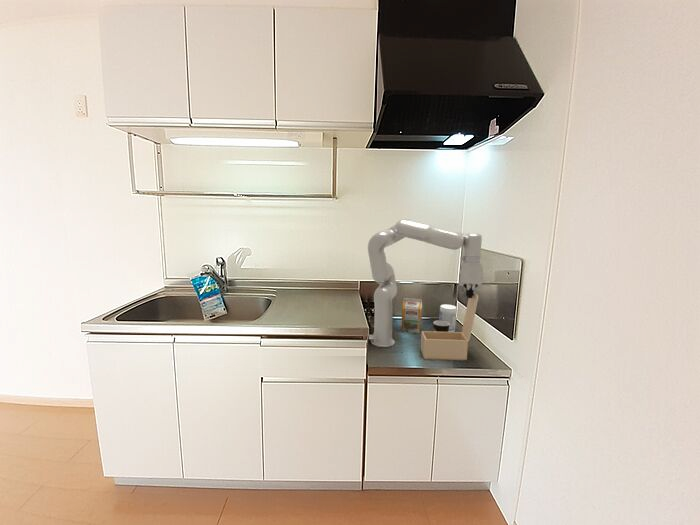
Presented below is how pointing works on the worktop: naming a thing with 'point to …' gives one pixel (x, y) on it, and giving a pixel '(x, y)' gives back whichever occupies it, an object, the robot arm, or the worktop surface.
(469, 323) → the carton flap
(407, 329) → the printed food package
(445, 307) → the supplement tub
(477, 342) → the worktop surface
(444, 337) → the carton
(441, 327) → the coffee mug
